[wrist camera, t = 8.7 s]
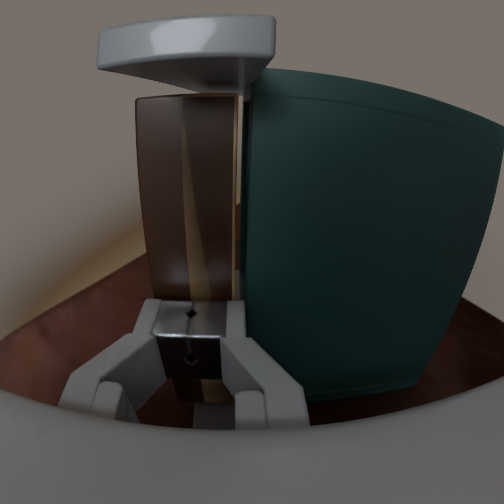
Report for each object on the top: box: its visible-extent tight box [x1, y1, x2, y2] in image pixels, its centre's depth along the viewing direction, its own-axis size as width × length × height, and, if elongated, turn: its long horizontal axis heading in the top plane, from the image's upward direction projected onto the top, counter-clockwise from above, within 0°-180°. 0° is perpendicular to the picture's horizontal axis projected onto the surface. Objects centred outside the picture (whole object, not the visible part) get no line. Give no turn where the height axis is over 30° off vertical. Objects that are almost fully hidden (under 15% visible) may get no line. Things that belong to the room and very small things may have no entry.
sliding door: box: [135, 93, 238, 403], centre depth 12 cm, size 2×7×11 cm, turn 3°
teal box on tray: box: [97, 14, 504, 430], centre depth 12 cm, size 11×15×13 cm
